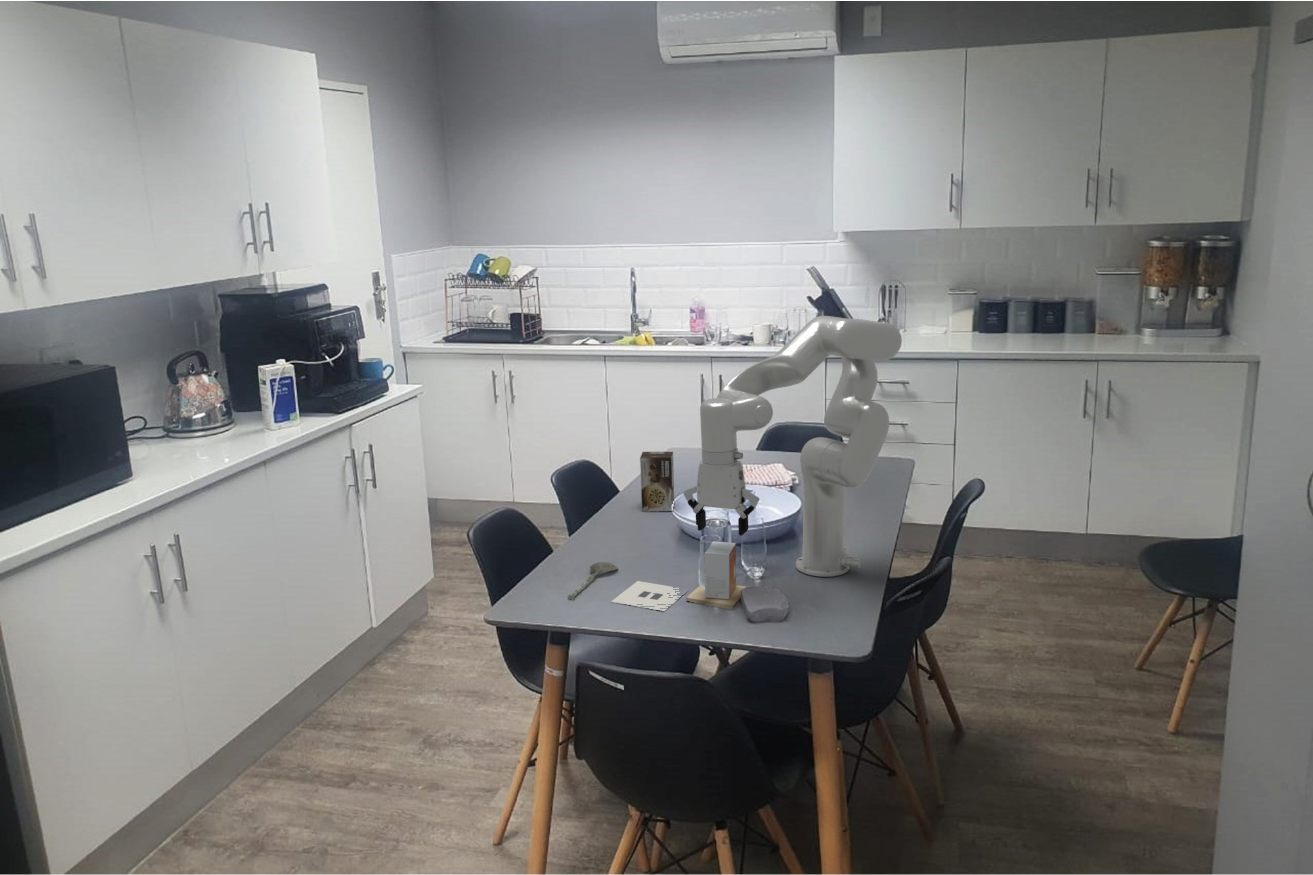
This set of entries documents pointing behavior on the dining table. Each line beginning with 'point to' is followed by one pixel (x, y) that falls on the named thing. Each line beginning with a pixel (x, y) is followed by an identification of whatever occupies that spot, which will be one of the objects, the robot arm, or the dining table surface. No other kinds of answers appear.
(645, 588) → the cream tile
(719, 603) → the wooden board
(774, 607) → the stone block
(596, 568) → the soupspoon
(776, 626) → the dining table surface
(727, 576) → the small box
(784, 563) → the dining table surface
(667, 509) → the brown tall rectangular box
